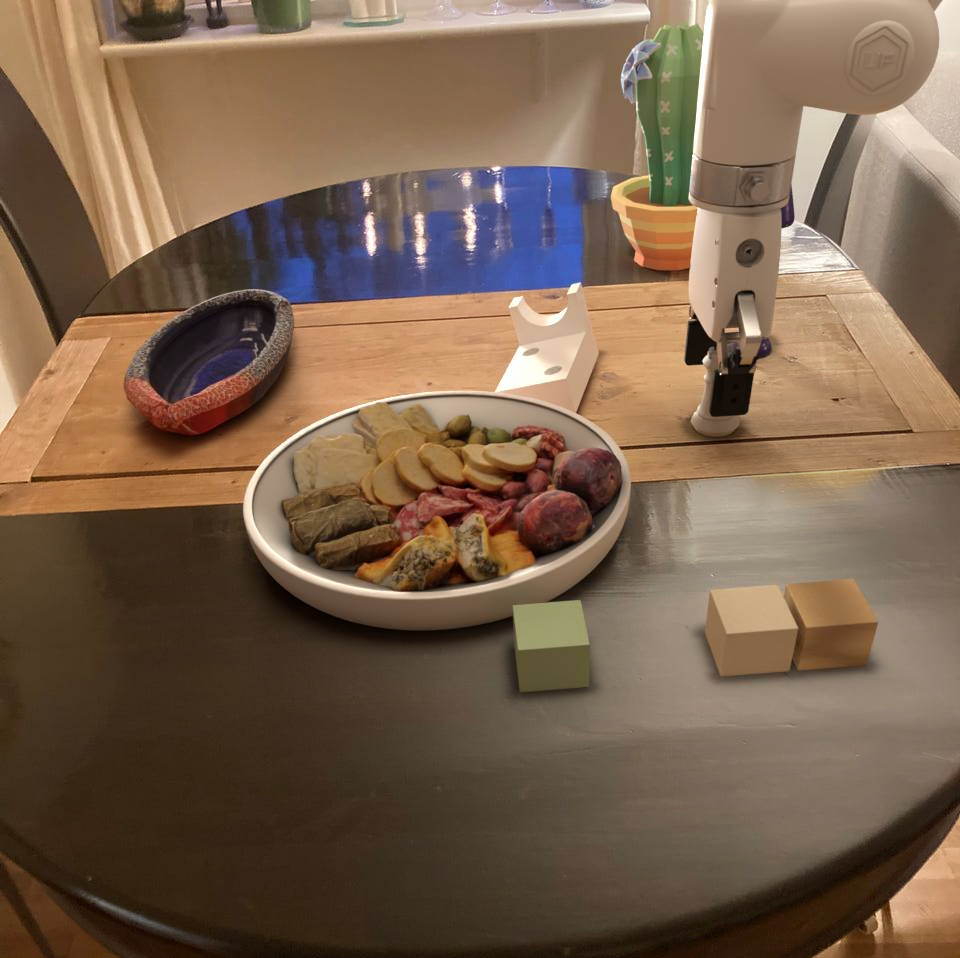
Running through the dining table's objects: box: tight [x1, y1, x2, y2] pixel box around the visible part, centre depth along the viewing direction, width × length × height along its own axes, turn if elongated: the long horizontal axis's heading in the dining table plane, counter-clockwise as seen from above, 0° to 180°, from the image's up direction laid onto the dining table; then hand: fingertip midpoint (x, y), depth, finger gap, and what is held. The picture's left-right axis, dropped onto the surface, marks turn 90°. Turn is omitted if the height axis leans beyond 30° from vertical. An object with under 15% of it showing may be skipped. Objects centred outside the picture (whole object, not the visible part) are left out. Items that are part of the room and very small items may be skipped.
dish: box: [123, 288, 295, 436], centre depth 99 cm, size 16×31×5 cm, turn 172°
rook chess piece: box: [690, 344, 741, 438], centre depth 84 cm, size 4×4×8 cm
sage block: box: [512, 599, 591, 693], centre depth 62 cm, size 4×4×4 cm
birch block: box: [783, 578, 879, 671], centre depth 62 cm, size 4×4×4 cm
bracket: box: [494, 282, 600, 414], centre depth 93 cm, size 13×7×8 cm, turn 165°
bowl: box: [242, 390, 632, 631], centre depth 75 cm, size 30×30×8 cm
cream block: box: [704, 584, 798, 677], centre depth 62 cm, size 4×4×4 cm
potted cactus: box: [610, 22, 704, 271], centre depth 112 cm, size 15×15×25 cm
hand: (714, 387), depth 84 cm, fingers open, 9 cm apart
